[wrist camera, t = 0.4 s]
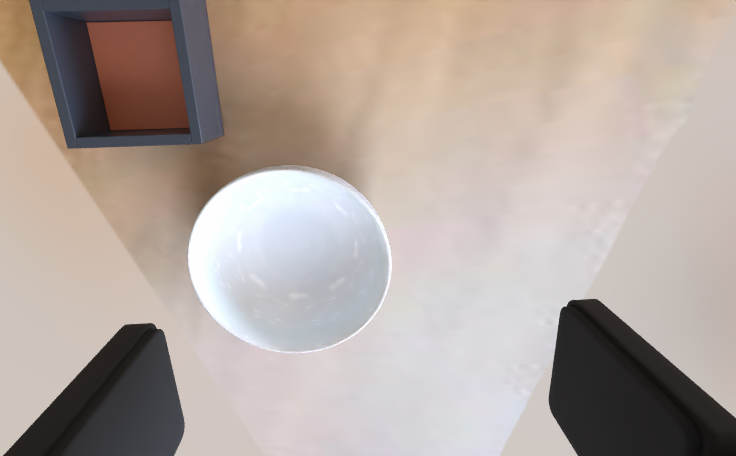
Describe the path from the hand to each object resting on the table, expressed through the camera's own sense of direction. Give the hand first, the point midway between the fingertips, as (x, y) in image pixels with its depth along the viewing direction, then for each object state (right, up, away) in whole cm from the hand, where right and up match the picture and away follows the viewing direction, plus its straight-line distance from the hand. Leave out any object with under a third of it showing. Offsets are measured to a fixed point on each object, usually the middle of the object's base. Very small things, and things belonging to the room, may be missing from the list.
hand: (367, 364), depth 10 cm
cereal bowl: (-7, +2, +31) cm, 32 cm away
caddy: (-18, +21, +24) cm, 37 cm away
